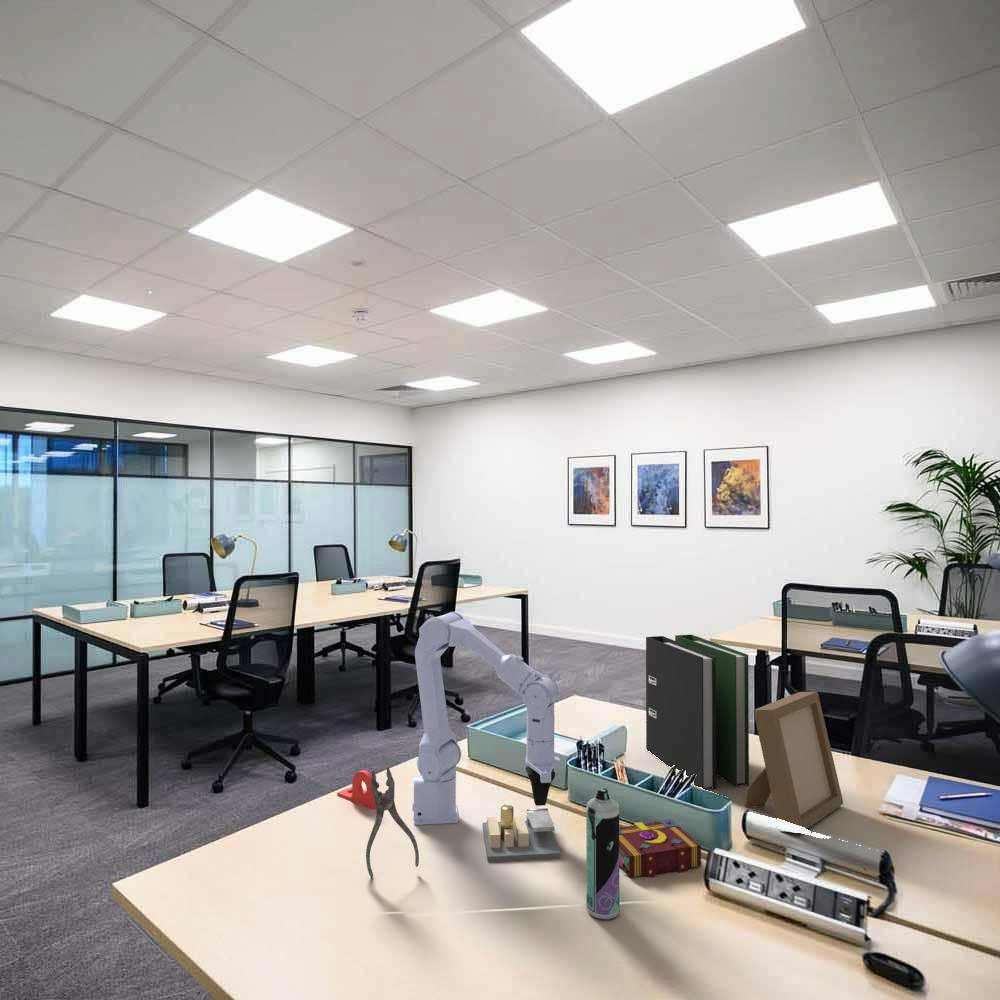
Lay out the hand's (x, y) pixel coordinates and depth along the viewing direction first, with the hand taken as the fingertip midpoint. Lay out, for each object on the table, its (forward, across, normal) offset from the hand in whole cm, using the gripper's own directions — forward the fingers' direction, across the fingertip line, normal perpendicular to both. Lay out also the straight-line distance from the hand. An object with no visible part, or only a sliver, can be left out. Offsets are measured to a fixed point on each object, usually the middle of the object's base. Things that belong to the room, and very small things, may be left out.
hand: (540, 804), depth 137 cm
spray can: (+7, -26, -7) cm, 27 cm away
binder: (+7, +32, -46) cm, 56 cm away
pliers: (+7, -12, +29) cm, 32 cm away
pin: (+6, -2, +7) cm, 9 cm away
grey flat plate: (+4, +4, 0) cm, 5 cm away
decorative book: (+7, -10, -20) cm, 23 cm away
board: (+7, -2, +4) cm, 8 cm away
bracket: (+7, +21, +38) cm, 44 cm away
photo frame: (+7, +6, -57) cm, 58 cm away
